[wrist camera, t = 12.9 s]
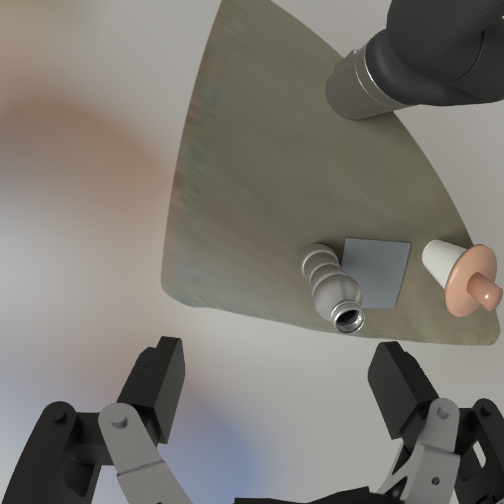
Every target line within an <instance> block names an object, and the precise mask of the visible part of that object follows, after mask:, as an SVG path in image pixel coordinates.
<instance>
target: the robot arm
mask: <svg viewBox="0 0 504 504" xmlns="http://www.w3.org/2000/svg"><path fill="white" fill-rule="evenodd" d="M502 16H504V0H392V2H391V5H390V8H389V11H388V15H387V25H386V29H384V30H382V31H380V32H379V33H377V34H376V35H375V36H374V37H373V38H371V39H370V40H369V41H368V42H367V43H366V44H365V45H364V46H363V47H362V48H361V49H360V50H352V51H351V52H350V53H349V55H347V57H345V58H344V59H343V60H342V61H341V62H340V63H339V64H338V65H337V66H336V67H335V73H334V74H333V75H332V76H331V77H330V78H329V80H328V82H327V86H326V95H327V99H328V101H329V103H330V105H331V106H332V108H333V109H334V110H335V111H336V112H337V113H339V114H340V115H341V116H343V117H345V118H348V119H351V120H361V119H366V118H368V117H372V116H376V115H379V114H383V113H387V112H390V111H394V110H398V109H402V108H406V107H410V106H415V105H419V104H423V105H424V104H425V105H432V106H455V105H468V104H483V103H492V102H497V101H500V100H503V99H504V19H503V18H502ZM184 377H185V362H184V354H183V346H182V340H181V339H180V338H174V337H165V336H162V337H161V339H160V341H159V343H158V345H157V347H156V348H153V347H148V348H147V349H146V350H144V351H143V352H142V353H141V354H140V355H139V357H138V359H137V361H136V363H135V366H134V367H133V369H132V371H131V373H130V375H129V377H128V379H127V381H126V383H125V385H124V387H123V389H122V391H121V393H120V396H119V398H118V400H117V402H116V403H113V404H110V405H108V406H106V407H105V408H103V409H102V410H101V412H99V413H82V412H81V413H80V412H76V411H75V409H74V408H73V407H72V406H71V405H70V404H69V403H66V402H62V401H57V402H53V403H51V404H49V405H48V406H47V407H46V408H45V409H44V410H43V412H42V414H41V416H40V418H39V420H38V421H37V423H36V426H35V427H34V429H33V431H32V433H31V435H30V437H29V439H28V441H27V443H26V445H25V448H24V450H23V452H22V454H21V456H20V458H19V461H18V463H17V465H16V467H15V470H14V472H13V475H12V477H11V479H10V482H9V485H8V487H7V490H6V493H5V495H4V498H3V501H2V504H91V503H92V498H93V495H94V491H95V487H96V484H97V480H98V477H99V473H100V470H101V466H102V465H115V468H116V470H117V473H118V474H117V479H118V482H119V484H120V486H121V488H122V490H123V493H124V494H125V496H126V498H127V500H128V502H129V504H193V503H192V502H191V500H190V499H189V498H188V496H187V495H186V493H185V492H184V490H183V489H182V488H181V486H180V485H179V483H178V482H177V480H176V479H175V477H174V476H173V474H172V472H171V471H170V469H169V468H168V466H167V465H166V463H165V462H164V461H163V459H162V458H161V456H160V454H159V452H158V451H157V445H158V443H163V444H167V442H168V439H169V435H170V431H171V427H172V423H173V419H174V416H175V412H176V408H177V404H178V401H179V397H180V393H181V390H182V386H183V382H184ZM368 382H369V384H370V387H371V389H372V391H373V394H374V396H375V399H376V401H377V404H378V406H379V408H380V411H381V413H382V416H383V418H384V421H385V423H386V426H387V429H388V431H389V434H390V436H391V439H392V440H393V439H397V438H401V437H402V439H403V442H402V443H401V445H400V448H399V450H398V452H397V455H396V457H395V460H394V462H393V465H392V467H391V469H390V471H389V474H388V476H387V478H386V480H385V482H384V483H383V484H382V485H381V487H380V488H379V490H378V491H377V492H376V493H372V492H370V491H369V487H368V486H366V487H362V488H357V489H353V490H347V491H341V492H338V493H335V494H332V495H329V496H327V497H324V498H321V499H318V500H315V501H312V502H309V503H296V502H288V501H282V500H276V499H271V498H235V503H234V504H449V502H450V498H451V496H452V492H453V488H454V489H455V492H456V495H457V499H458V502H459V504H504V418H503V416H502V415H501V413H500V411H499V410H498V408H497V406H496V405H495V404H494V403H493V402H492V401H491V400H489V399H485V398H482V399H479V400H478V401H476V403H475V404H474V405H473V407H472V408H458V407H457V405H456V404H455V403H454V402H452V401H451V400H449V399H445V398H439V396H438V394H437V393H436V391H435V389H434V388H433V386H432V385H431V383H430V381H429V380H428V378H427V376H426V375H424V372H423V370H422V369H421V368H420V365H419V364H418V362H417V361H416V359H415V358H414V357H413V356H411V355H410V354H409V353H407V352H404V351H403V349H402V347H401V346H400V344H399V343H398V342H397V341H392V342H381V343H379V344H378V346H377V349H376V352H375V354H374V357H373V359H372V362H371V364H370V367H369V370H368ZM477 441H479V444H480V446H481V448H482V450H483V452H484V455H485V457H486V462H485V465H484V467H483V468H482V467H481V465H480V463H479V460H478V458H477V456H476V454H475V451H474V449H473V445H474V444H475V443H476V442H477Z"/></svg>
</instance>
